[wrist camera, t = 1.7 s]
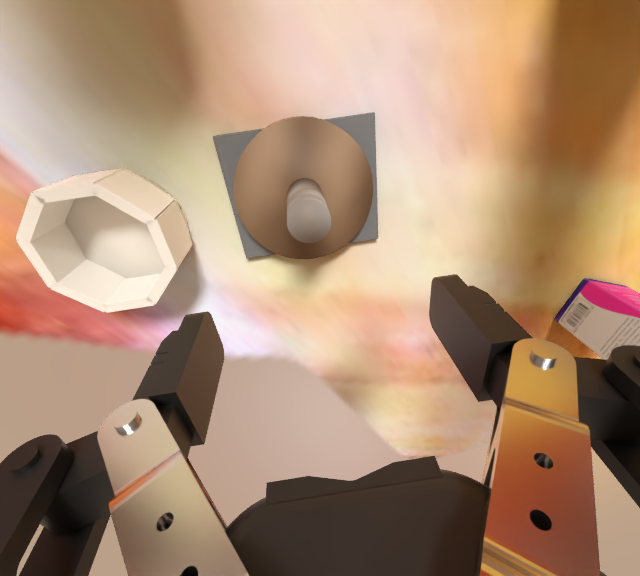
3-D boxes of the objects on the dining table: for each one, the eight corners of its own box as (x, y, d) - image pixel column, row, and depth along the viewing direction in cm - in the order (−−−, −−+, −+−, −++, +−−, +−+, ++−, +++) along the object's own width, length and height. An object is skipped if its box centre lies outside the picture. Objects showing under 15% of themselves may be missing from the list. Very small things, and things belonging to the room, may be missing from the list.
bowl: (164, 161, 24) (138, 175, 20) (204, 269, 29) (190, 299, 25) (39, 179, 24) (-14, 197, 20) (101, 285, 29) (69, 318, 25)
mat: (372, 112, 24) (374, 112, 23) (376, 235, 29) (378, 238, 28) (214, 135, 24) (212, 136, 23) (247, 255, 29) (246, 258, 28)
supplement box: (593, 325, 38) (700, 406, 28) (552, 319, 36) (648, 401, 27) (628, 284, 35) (760, 358, 25) (584, 276, 34) (705, 350, 24)
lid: (367, 106, 23) (395, 109, 17) (372, 244, 29) (395, 283, 23) (217, 128, 23) (192, 140, 17) (253, 262, 29) (244, 306, 23)
